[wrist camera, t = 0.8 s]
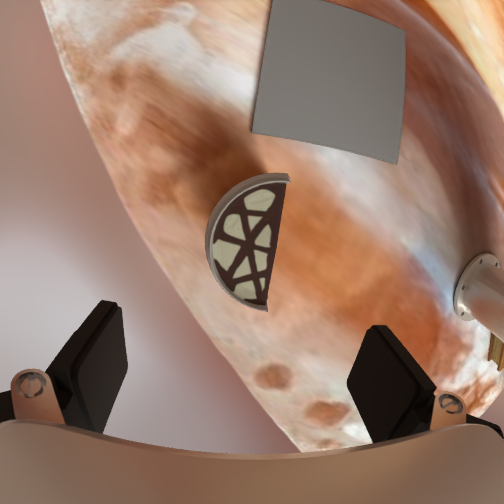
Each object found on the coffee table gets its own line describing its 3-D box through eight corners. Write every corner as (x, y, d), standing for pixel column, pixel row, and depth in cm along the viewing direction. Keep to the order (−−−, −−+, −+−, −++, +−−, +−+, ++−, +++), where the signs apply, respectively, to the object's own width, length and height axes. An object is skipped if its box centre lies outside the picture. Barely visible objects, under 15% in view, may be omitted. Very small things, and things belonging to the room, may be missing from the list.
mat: (403, 32, 25) (405, 31, 25) (394, 164, 31) (397, 164, 30) (274, -8, 23) (274, -10, 23) (251, 133, 29) (251, 132, 29)
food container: (218, 163, 30) (211, 163, 21) (274, 170, 31) (292, 174, 21) (206, 268, 34) (197, 309, 24) (258, 274, 34) (266, 317, 25)
